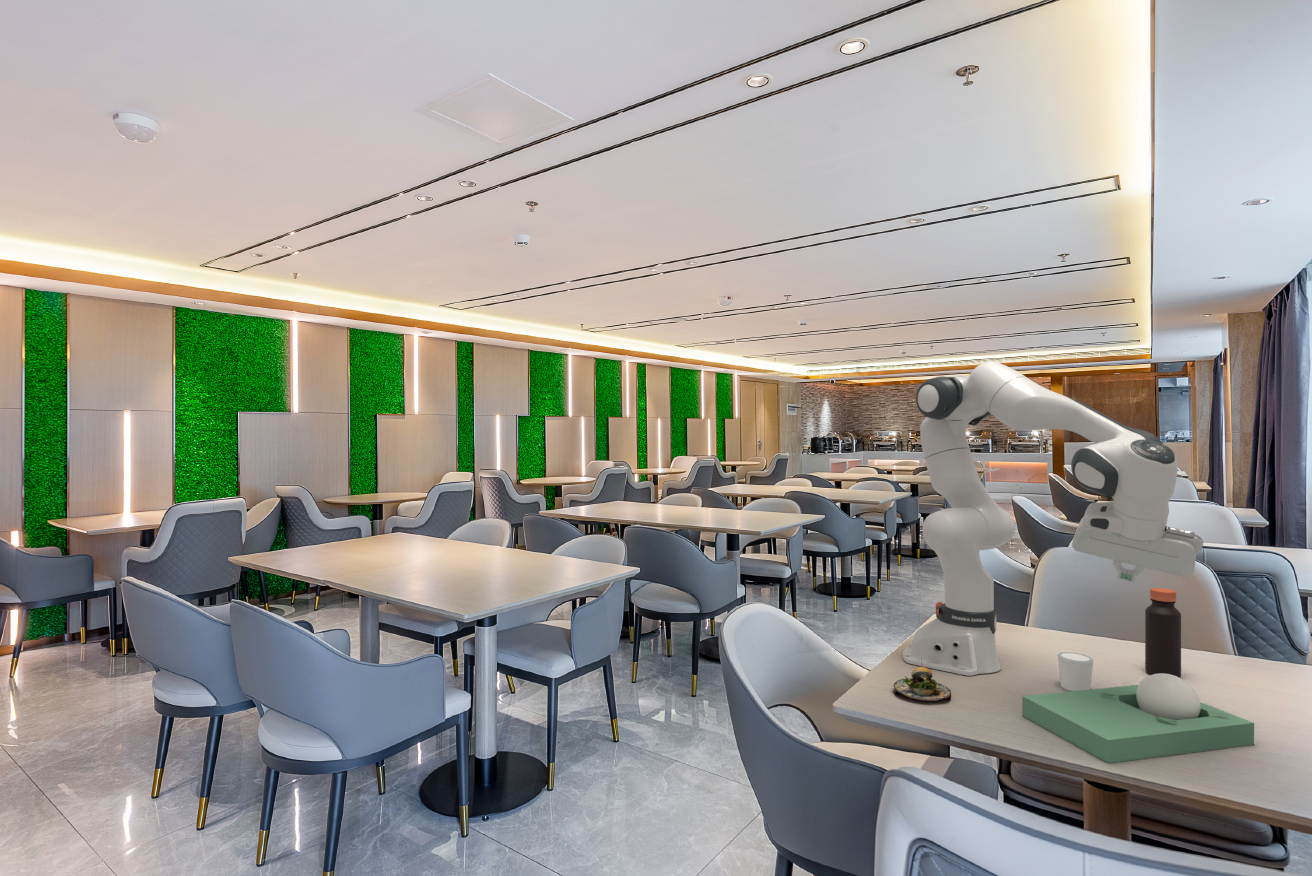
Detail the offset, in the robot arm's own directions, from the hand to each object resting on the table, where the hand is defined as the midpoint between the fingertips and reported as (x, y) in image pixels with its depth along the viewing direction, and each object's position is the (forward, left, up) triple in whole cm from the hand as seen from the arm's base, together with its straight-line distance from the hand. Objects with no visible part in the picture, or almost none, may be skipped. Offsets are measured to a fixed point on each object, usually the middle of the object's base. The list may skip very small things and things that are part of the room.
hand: (1125, 578), depth 137 cm
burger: (-38, -9, -28) cm, 48 cm away
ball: (+6, -3, -22) cm, 24 cm away
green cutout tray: (0, -9, -27) cm, 29 cm away
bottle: (+11, +30, -28) cm, 43 cm away
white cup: (-8, +11, -28) cm, 31 cm away
